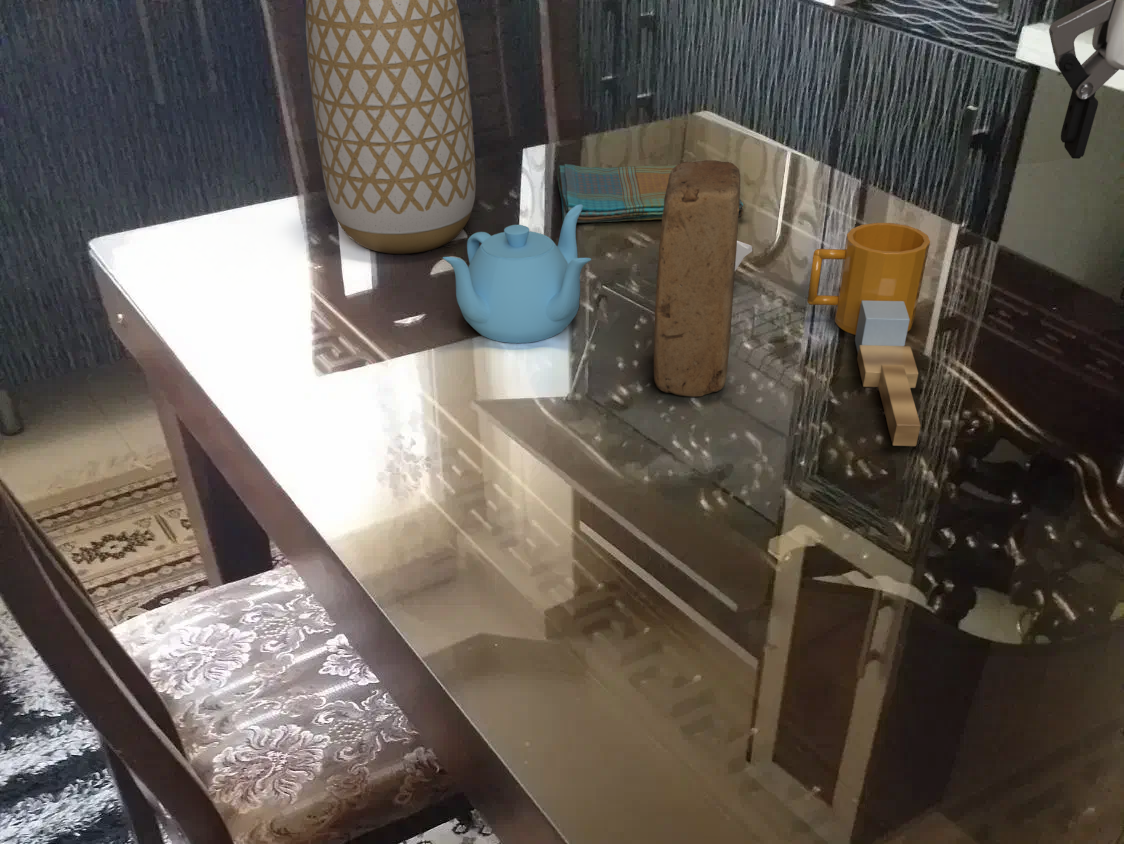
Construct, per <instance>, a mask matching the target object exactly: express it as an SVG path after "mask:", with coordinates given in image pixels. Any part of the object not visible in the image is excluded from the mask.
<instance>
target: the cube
mask: <svg viewBox="0 0 1124 844" xmlns="http://www.w3.org/2000/svg"><path fill="white" fill-rule="evenodd" d="M909 321H910V319H909V316H908V312H907V309H906V306H905V303H904V301H861V307H860V313H859V319H858V324H857V330H856V335H854V336H855V337H854V342H855V343H854V344H855V347H856V352H857V353H858V351H859V345H878V346H906V340H907V335H908V332H909V331H908V326H909ZM907 331H908V332H907Z"/></svg>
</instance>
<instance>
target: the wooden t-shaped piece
mask: <svg viewBox="0 0 1124 844" xmlns="http://www.w3.org/2000/svg"><path fill="white" fill-rule="evenodd" d="M856 361H857V366H858V370H859V375H860V378H861V383H862V387H863V388H878V391H879V395H880V399H881V403H882V409H883V411H884V416H885V418H886V419H885V420H886V425H887V428H888V433H889V437H890V441H891V445H892V446H893V447H916V446H917V445H918V439H919V435H920V430H921V426H922V425H921V421H920V417H919V414H918V411H917V407H916V404H915V401H914V397H913V393H912V390H911V389H915V388H916V387H917V382H918V378H919V370H918V368H917V363H916V360H915V357H914V353H913V350H912V347H911V346H910V345H905V346H878V345H859V351H858V352H857V357H856Z"/></svg>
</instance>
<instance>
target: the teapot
mask: <svg viewBox="0 0 1124 844" xmlns="http://www.w3.org/2000/svg"><path fill="white" fill-rule="evenodd" d="M582 208H583V205H581V204H579V205H576V206H575V207H573V208H572V209H571V210H570V211H569V212H568V213H567V215H566V216H565V219H564V221H562V225H561V229H560V234H559V238H558V243H557V244H556V243H555V242H554V240H552V238H551V237H549V236H548V235H546V234H543V233H540V232H536V231H530V228H529V227H528V226H526V225H524V224H512V225H508V226H506V227H504V229H503V232H498V233H495V234H493V235H491V234H489V233H488V232H486V231H477V232H475V233H473V234H471V235H470V236H469V237H468V239H467V241H466V251H467V258H468V263H469V264H467V262H466V261H465V260H464V259H463V258H460V257H456V256H442V259H443V260H444V261H446V262H447V263H448V264H450V266H451V267H452V269H453V272H454V277H455V297H456V302H457V304H458V307H459V309H460V313H461V315H462V317H463V318H464V320H465V321H466V323H468V324H469V326H470V327H472V328H473V330H475V331H476V332H477V333H478V334H480V335H481V336H482V337H484V338H487V339H489V340H492V341H497V342H501V343H510V344H526V343H535V342H540V341H544V340H548V339H551V338H552V337H555V336H556V335H559V334H560V333H562V332H563V331H565V330H566V328H567V327H568V326H569V325H570V324H571V322H572V321H573V320H574V319H575V318H576V316H577V314H578V312H579V309H580V299H581V273H582V270H583V268H584V266H585V265H586V264H588V263H590V262H591V261H592V258H590V257H578V256H579V255H578V246H577V245H578V244H577V232H576V231H577V224H578V223H577V219H578V217H579V215H580V213H581V211H582Z"/></svg>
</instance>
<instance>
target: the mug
mask: <svg viewBox="0 0 1124 844" xmlns="http://www.w3.org/2000/svg"><path fill="white" fill-rule="evenodd" d="M930 245H931V239H930V237H929V235H928V234H927V233H925V232H924V231H922V230H921V229H919V228H915V227H912V226H910V225H906V224H900V223H894V222H872V223H865V224H860V225H858V226H856V227H853V228H851V229H850V230H849V232H848V233H846V238H845V244H844V249H843V248H817V249H815V250H814V251H813V253H812V262H811V269H810V276H809V283H808V291H807V298H806V302H807V304H808V305H809V306H835V309H834V323H835V324H836V325H837V327H839V328H840V329H841V330H843V331H844V332H846V333H848V334H851V335H853V336H856V330H857V324H858V319H859V313H860V307H861V301H904V303H905V306H906V309H907V312H908V316H909V319H910V321H909V326H908V331H907V333H908V332H909V331H910V330H911V329H912V327H913V323H914V321H915V319H916V312H917V308H918V303H919V299H920V293H921V289H922V285H923V284H922V283H923V280H924V279H923V278H924V274H925V269H926V264H927V260H928V254H929V249H930ZM823 260H836V261H837V260H842V264H841V268H840V269H841V270H840V275H839V283H838V289H837V295H830V294H829V295H828V294H827V295H825V294H823V295H822V294H818V292H819V286H820V278H821V271H822V265H823Z"/></svg>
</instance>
